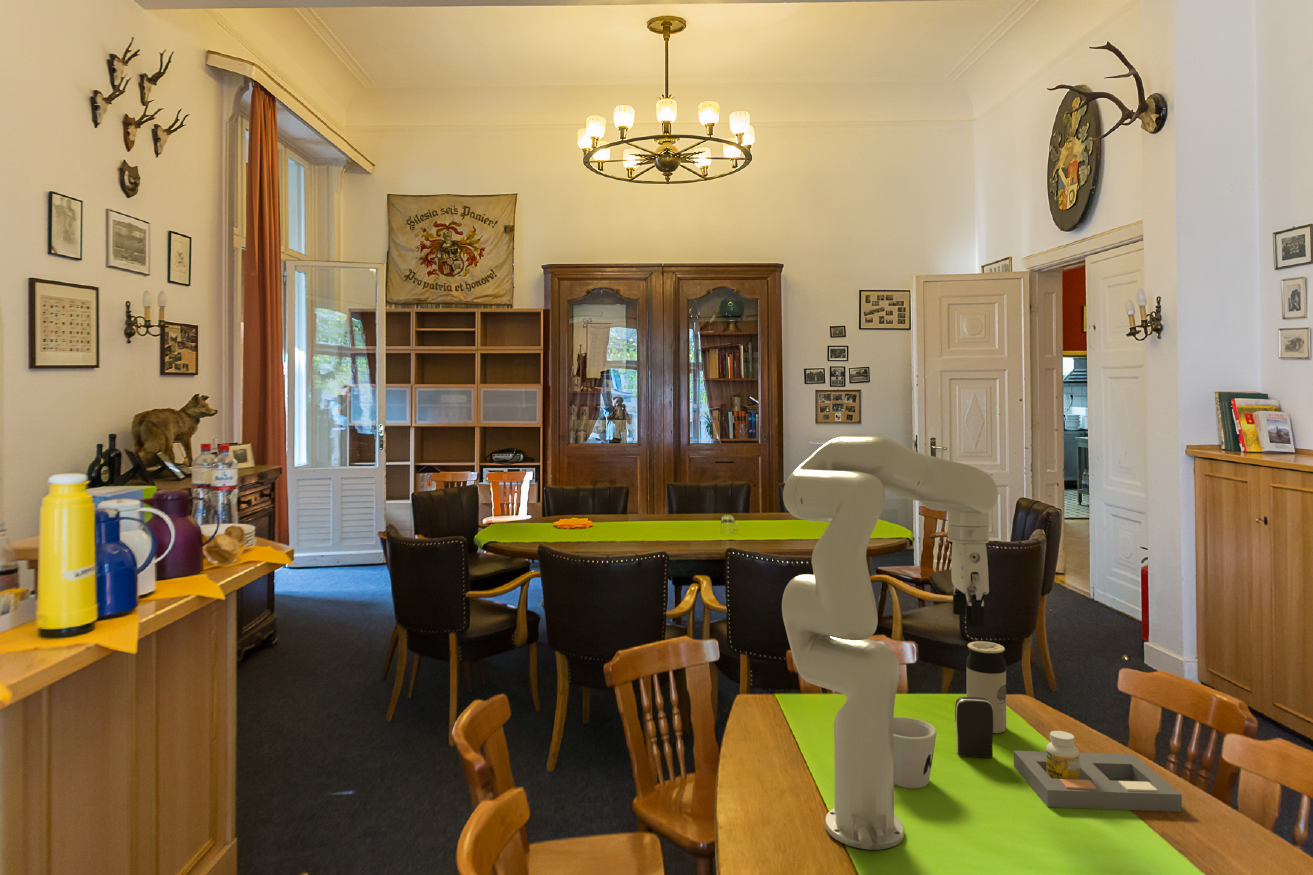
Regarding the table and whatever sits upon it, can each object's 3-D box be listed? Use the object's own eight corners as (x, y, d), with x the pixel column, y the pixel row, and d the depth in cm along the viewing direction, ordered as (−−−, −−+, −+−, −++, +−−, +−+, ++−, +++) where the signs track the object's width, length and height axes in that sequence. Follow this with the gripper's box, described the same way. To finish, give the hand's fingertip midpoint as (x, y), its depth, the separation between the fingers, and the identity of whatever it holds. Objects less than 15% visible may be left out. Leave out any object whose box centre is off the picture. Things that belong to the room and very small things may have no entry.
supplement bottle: (1086, 791, 138) (1086, 738, 138) (1062, 795, 136) (1062, 742, 136) (1062, 778, 143) (1062, 727, 143) (1039, 782, 142) (1039, 731, 141)
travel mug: (958, 724, 169) (958, 643, 169) (984, 717, 172) (984, 639, 172) (988, 737, 162) (987, 653, 162) (1014, 730, 165) (1014, 648, 165)
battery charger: (989, 751, 155) (989, 695, 155) (994, 759, 151) (994, 702, 151) (953, 748, 156) (953, 693, 156) (957, 756, 153) (957, 700, 153)
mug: (941, 795, 137) (941, 740, 137) (856, 788, 140) (855, 734, 140) (932, 769, 147) (932, 718, 147) (853, 763, 150) (852, 713, 150)
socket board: (1181, 811, 130) (1181, 792, 130) (1047, 807, 132) (1047, 788, 132) (1132, 769, 146) (1132, 752, 146) (1013, 765, 148) (1013, 749, 148)
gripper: (1001, 540, 141) (1001, 632, 142) (975, 528, 159) (975, 610, 159) (959, 539, 142) (959, 630, 143) (938, 528, 160) (938, 609, 160)
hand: (967, 620), depth 151 cm, fingers open, 9 cm apart
